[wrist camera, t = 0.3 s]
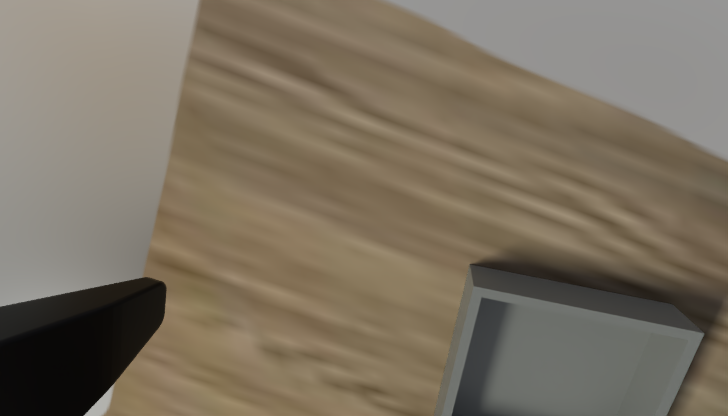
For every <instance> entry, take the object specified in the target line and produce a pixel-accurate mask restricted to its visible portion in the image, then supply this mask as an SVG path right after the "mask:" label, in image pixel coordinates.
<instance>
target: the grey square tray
mask: <svg viewBox="0 0 728 416" xmlns="http://www.w3.org/2000/svg"><path fill="white" fill-rule="evenodd" d="M704 334H705V333H703V332H702V331H701V330H700V329H699V328H698V327H697V326H696V325H695V324H694V323H692V322H691V321H690V320H689V319H688V318H687V317H686V316H685V315H684V314H683V313H681V312H680V311H679V310H678V309H677V308H676V307H675V306H674V305H673V304H668V303H663V302H658V301H653V300H648V299H643V298H638V297H633V296H628V295H623V294H618V293H613V292H608V291H602V290H597V289H592V288H587V287H582V286H577V285H572V284H567V283H562V282H557V281H552V280H547V279H542V278H537V277H531V276H526V275H521V274H516V273H511V272H506V271H501V270H496V269H491V268H486V267H481V266H476V265H471V264H470V265H469V270H468V274H467V278H466V282H465V286H464V291H463V295H462V299H461V303H460V307H459V311H458V316H457V320H456V324H455V328H454V332H453V337H452V341H451V345H450V349H449V353H448V358H447V362H446V366H445V370H444V374H443V379H442V383H441V387H440V391H439V395H438V399H437V404H436V408H435V412H434V416H667V414H668V412H669V409H670V407H671V405H672V403H673V401H674V399H675V396H676V394H677V392H678V390H679V388H680V386H681V383H682V381H683V379H684V377H685V375H686V373H687V370H688V368H689V366H690V364H691V362H692V360H693V357H694V355H695V353H696V351H697V349H698V347H699V344H700V342H701V340H702V338H703V336H704Z"/></svg>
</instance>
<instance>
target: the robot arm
mask: <svg viewBox="0 0 728 416" xmlns="http://www.w3.org/2000/svg"><path fill="white" fill-rule="evenodd" d="M165 302H166V285H165V283H164V282H162V281H159V280H155V279H152V278H149V277H144V278H139V279H134V280H129V281H124V282H119V283H114V284H109V285H105V286H100V287H95V288H90V289H85V290H80V291H75V292H70V293H65V294H61V295H56V296H51V297H46V298H41V299H36V300H31V301H27V302H21V303H17V304H12V305H6V306H2V307H0V416H84V415H85V414H86V412H88V410H89V409H90V408H91V407H92V406H93V405H94V404H95V403H96V402H97V401H98V400H99V399H100V398H101V397H102V396H103V395H104V394H105V393H106V392H107V391H108V390H109V388H110V387H111V386H112V385H113V384H114V383H115V382H116V380H117V379H118V378H119V377H120V376H121V374H122V373H123V372H124V371H125V369H126V368H127V367H128V366H129V364H130V363H131V362H132V361H133V359H134V358H135V357H136V356H137V354H138V353H139V352H140V351H141V349H142V348H143V347H144V346H145V344H146V343H147V342H148V341H149V339H150V338H151V337H152V336H153V334H154V333H155V332H156V331H157V329H158V328H159V327H160V325H161V323H162V321H163V319H164V314H165Z"/></svg>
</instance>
